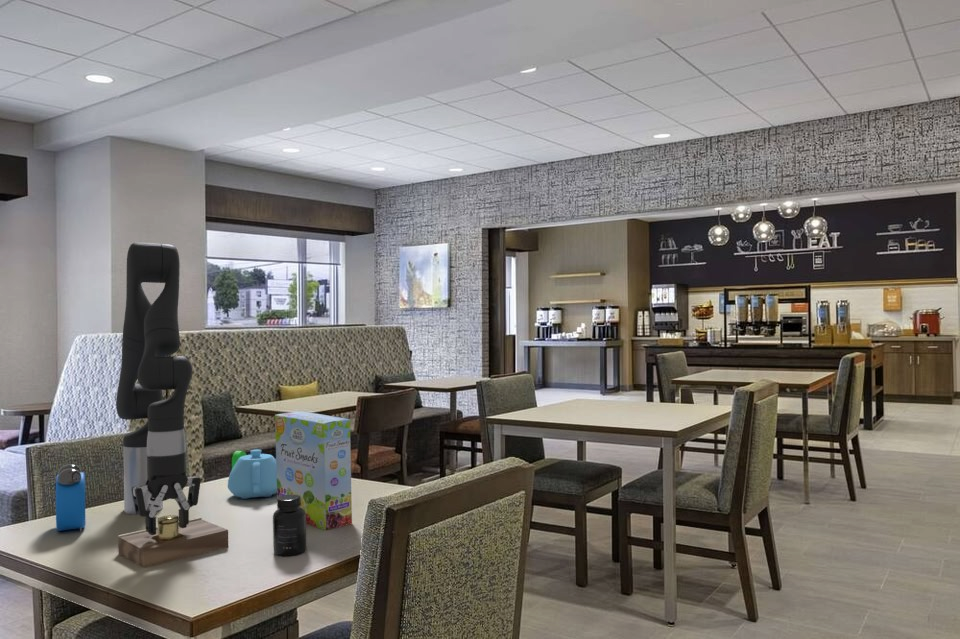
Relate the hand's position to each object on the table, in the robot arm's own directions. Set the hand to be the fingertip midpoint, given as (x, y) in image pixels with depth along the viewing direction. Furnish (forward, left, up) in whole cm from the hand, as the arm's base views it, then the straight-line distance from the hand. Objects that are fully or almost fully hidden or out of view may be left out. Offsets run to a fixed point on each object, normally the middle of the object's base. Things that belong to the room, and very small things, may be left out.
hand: (167, 530), depth 154 cm
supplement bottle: (+18, +18, -6) cm, 26 cm away
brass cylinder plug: (0, 0, -5) cm, 5 cm away
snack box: (0, +36, -6) cm, 36 cm away
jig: (-1, +2, -5) cm, 6 cm away
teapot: (-33, +42, -6) cm, 54 cm away
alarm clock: (-37, -7, -6) cm, 38 cm away
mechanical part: (-60, +53, -6) cm, 80 cm away
